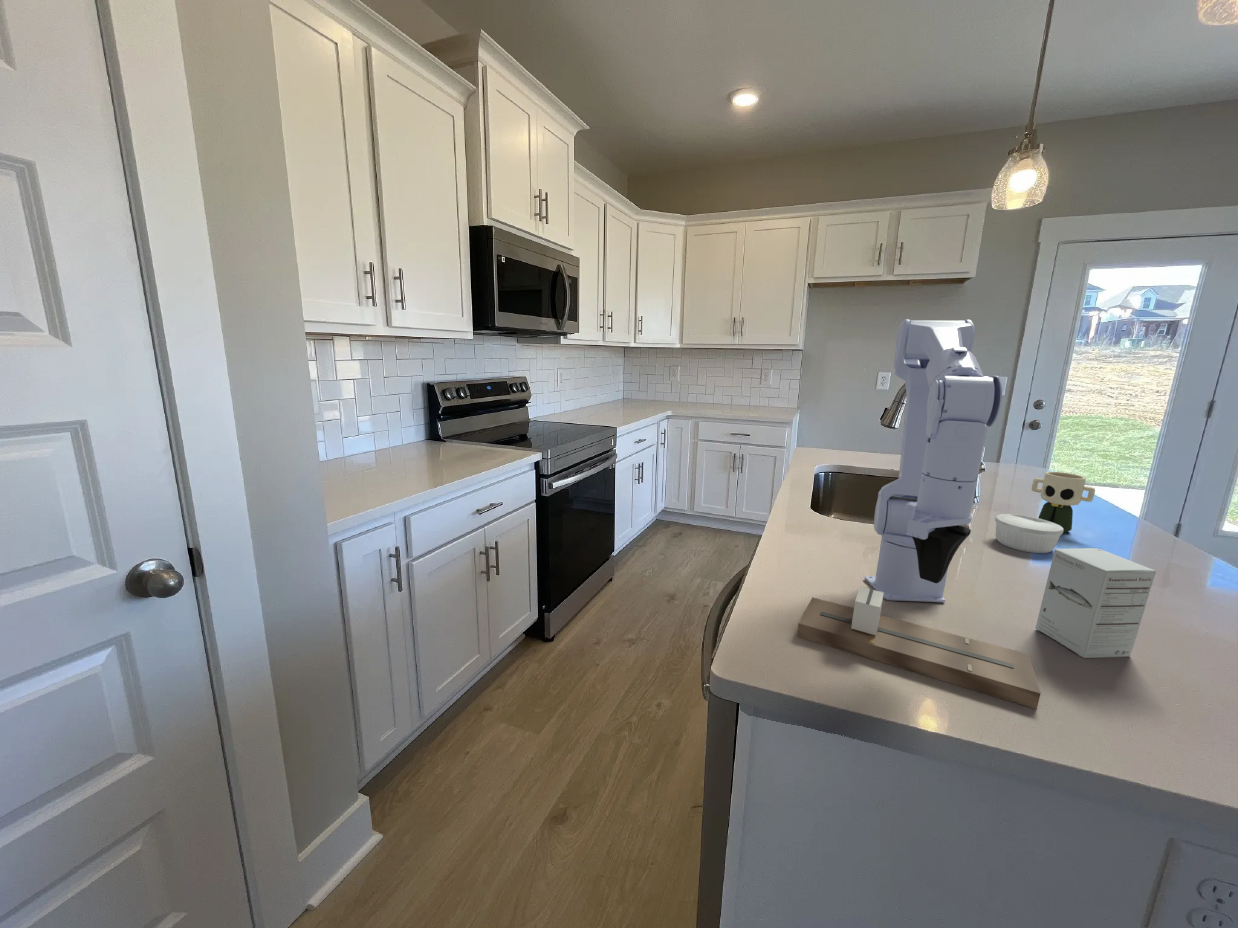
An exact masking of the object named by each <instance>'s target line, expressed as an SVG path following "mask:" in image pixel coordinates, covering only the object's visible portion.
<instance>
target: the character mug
mask: <svg viewBox="0 0 1238 928" xmlns="http://www.w3.org/2000/svg"><path fill="white" fill-rule="evenodd" d="M1086 479H1087V477H1085V476H1084V475H1079V474H1076V473H1075V474H1074V473H1068V472H1065V471H1064V472H1063V471H1045V474H1044V477H1043V478H1039V477H1036V478H1035V477H1034V478H1033V480H1032V484H1031V492H1035V493H1039V494H1040V499H1042V500H1043V501H1045V503H1044V504H1043V505H1042V508H1041V509H1040V513H1039V515H1038V517H1037V518H1039V519H1043V520H1046V521H1050V522H1052V523H1055V524H1057V525H1059V526H1061V527H1062V528H1063V529H1064V531H1063V533H1067V532H1070V531H1072V529H1073V516H1074V514H1073V510H1074V509H1073V507H1072V506H1078V505H1079V504H1080V503H1081V501H1083V502H1087V503H1092V502H1093V501H1094V496H1095V493H1096V490H1095V487H1093V486H1086ZM1039 483H1041V484H1042V487H1041V488H1039V487H1038V484H1039ZM1084 491H1085V492H1088V493H1087V496H1083V493H1084Z"/></svg>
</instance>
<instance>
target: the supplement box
mask: <svg viewBox="0 0 1238 928" xmlns="http://www.w3.org/2000/svg"><path fill="white" fill-rule="evenodd" d="M1053 551H1054V552H1053V555H1052V560H1051V564H1050V568H1049V573H1048V576H1047V581H1046V584H1045V588H1044V592H1043V596H1042V600H1041V604H1040V608H1039V613H1038V616H1037V621H1036V624H1035V630H1036V631H1039V632H1041V633H1043V634H1045V635H1046V636H1048V637H1049V638H1051V639H1052V640H1054V641H1056V642H1058V643H1059V644H1061V645H1062V646H1064V647H1066V648H1067V649H1069V650H1071V651H1072V652H1074V653H1075V654H1077V656H1079V657H1081V658H1082V659H1087V658H1088V659H1094V658H1095V659H1096V658H1097V659H1098V658H1099V659H1100V658H1101V659H1103V658H1123V657H1125V658H1126V657H1127V658H1128V657H1131V655H1132V651H1133V649H1134V646H1135V643H1136V639H1137V637H1138V636H1137V635H1138V633H1139V630H1140V625H1141V622H1142V619H1143V615H1144V612H1145V609H1146V606H1147V602H1148V598H1149V596H1150V592H1151V588H1152V585H1153V582H1154V579H1155V576H1156V574H1157V570H1155V569H1152V568H1150V567H1148V566H1144V565H1142V564H1140V563H1137V562H1134V561H1132V560H1129V559H1127V558H1124V557H1123V556H1119V555H1116V554H1115V553H1112V552H1109V551H1107V550H1103V549H1101V548H1097V547H1096V548H1093V547H1090V548H1089V547H1087V548H1086V547H1085V548H1083V547H1082V548H1054V550H1053Z"/></svg>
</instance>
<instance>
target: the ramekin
mask: <svg viewBox="0 0 1238 928" xmlns="http://www.w3.org/2000/svg"><path fill="white" fill-rule="evenodd" d="M994 521H995V537H996V540H997V541H998V542H999V543H1000V544H1002V545H1003V546H1005V547H1008V548H1010V549H1014V550H1018V551H1021V552H1027V553H1033V554H1048V553H1051V552H1052V551H1054V550H1055V549H1056V545H1057V544H1058V542H1059V539H1060V537H1061V535H1063V533H1064V532H1063V531H1064V529H1063V528H1062V527H1061V526H1059V525H1057V524H1055V523H1052V522H1050V521H1046V520H1043V519H1039V518H1038V517H1034V516H1029V515H1022V514H1014V513H1001V514H997V515H996V516H995V518H994Z"/></svg>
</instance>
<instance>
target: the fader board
mask: <svg viewBox="0 0 1238 928" xmlns="http://www.w3.org/2000/svg"><path fill="white" fill-rule="evenodd" d="M853 613H854V607H850V606H847V605H843V604H839V603H835V602H831V601H828V600H824V599H820V598H816V597H811V599H810V600H809V603H808V605H807V606H806V608H805V611H804V612H803V614H802V616H801V618H800V620H799V621H798V627H797V635H796V636H797V637H798V638H801V639H806V640H807V641H808V640H809V641H811V642H815V643H818V644H822V645H825V646H828V647H831V648H835V649H838V650H841V651H844V652H848V653H851V654H854V655H858V656H861V657H864V658H867V659H870V660H874V661H877V662H881V663H884V664H887V665H891V666H893V667H894V666H895V667H897V668H901V669H903V670H907V671H909V672H914V673H916V674H919V675H924V676H927V677H930V678H933V679H936V680H940V681H943V682H947V683H950V684H953V685H956V686H960V687H963V688H966V689H969V690H972V691H976V692H979V693H982V694H985V695H990V696H992V697H995V698H999V699H1002V700H1006V701H1007V702H1008V701H1009V702H1012V703H1016V704H1018V705H1022V706H1024V707H1029V708H1032V709H1036V710H1037V709H1038V706H1039V702H1040V698H1041V695H1042V693H1041V691H1040V686H1039V683H1038V681H1037V678H1036V673H1035V671H1034V667H1033V665H1032V660H1031V657H1030V654H1029V653H1026V652H1023V651H1018V650H1014V649H1012V648H1007V647H1003V646H1000V645H996V644H993V643H992V644H991V643H989V642H988V643H987V642H985V641H982V640H981V641H980V640H977V639H972V638H969V637H965V636H961V635H958V634H954V633H951V632H950V633H949V632H946V631H942V630H940V629H936V628H931V627H927V626H923V625H920V624H916V623H913V622H908V621H905V620H900V619H897V618H892V617H889V616H886V615H881V614H880V620H879V625H878V629H877V634H876V635H873V634H869V633H866V632H862V631H859V630H855V629H852V628H851V626H852V619H853Z"/></svg>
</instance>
